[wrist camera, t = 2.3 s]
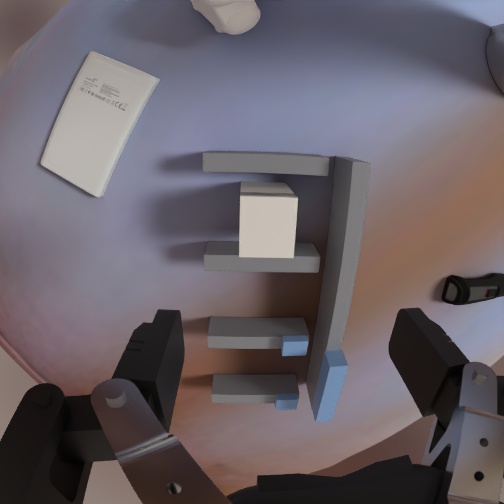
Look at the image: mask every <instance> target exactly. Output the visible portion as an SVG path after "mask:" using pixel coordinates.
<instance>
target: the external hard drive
mask: <svg viewBox="0 0 504 504" xmlns="http://www.w3.org/2000/svg"><path fill="white" fill-rule="evenodd" d="M159 81H160V79H158V78H156V77H154V76H152V75H150V74H147V73H145V72H143V71H141V70H138V69H136V68H134V67H131V66H129V65H126V64H124V63H122V62H119V61H117V60H114V59H112V58H109V57H107V56H104V55H102V54H99V53H97V52H94V51H90V53H89V55H88V56H87V58H86V60H85V62H84V64H83V66H82V67H81V69H80V71H79V73H78V75H77V77H76V79H75V81H74V83H73V85H72V87H71V89H70V91H69V93H68V95H67V97H66V99H65V102H64V104H63V106H62V108H61V111H60V113H59V115H58V117H57V120H56V122H55V125H54V127H53V130H52V132H51V135H50V137H49V140H48V143H47V145H46V148H45V151H44V154H43V157H42V159H41V163H40V164H41V165H42V166H44V167H46V168H47V169H49V170H51V171H52V172H54V173H56V174H57V175H59V176H61V177H62V178H64V179H66V180H68V181H69V182H71V183H73V184H74V185H76V186H78V187H80V188H81V189H83V190H85V191H87V192H88V193H90V194H92V195H94V196H96V197H98V198H99V197H101V196H103V195H104V192H105V190H106V187H107V185H108V182H109V180H110V178H111V175H112V173H113V171H114V168H115V166H116V164H117V162H118V160H119V157H120V155H121V153H122V151H123V149H124V147H125V145H126V142H127V140H128V138H129V136H130V134H131V132H132V130H133V128H134V126H135V124H136V123H137V121H138V119H139V117H140V115H141V113H142V111H143V109H144V107H145V106H146V104H147V102H148V100H149V98H150V97H151V95H152V93H153V91H154V89H155V88H156V86H157V84H158V83H159Z"/></svg>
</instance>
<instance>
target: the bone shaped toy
mask: <svg viewBox="0 0 504 504" xmlns="http://www.w3.org/2000/svg"><path fill="white" fill-rule="evenodd" d="M190 1H191V2H192V5H193V7H194V9H195V10H196V11H198V12H200V13H201V14H202V15H203V16H204V17H205V18H206V19H207V20H208V21H209V22H210V23H211V24H212V25H213V26H214V27H215V30H216V31H217V32H219V33H228V34H231V35H238V34H242V33H244V32H246V31H248V30H250V29H251V28H253V27H254V26H255V25H256V24H257V23H258V21H259V19H260V10H259V8H258V7H257V5H256V3H255V1H254V0H190Z"/></svg>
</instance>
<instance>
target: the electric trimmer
mask: <svg viewBox="0 0 504 504" xmlns="http://www.w3.org/2000/svg"><path fill="white" fill-rule="evenodd" d="M501 296H504V274H496V273H494V274H493V275H492V276H491V277H490V278H484V279H469V280H465V279H464V278H462V277H459V276H454V275H452V276H451V277H450V278H447V280H446V283H445V287H444V290H443V294H442V300H443V301H444V302H446V303H449V304H453V305H466V304H471V303H476V302H481V301H486V300H490V299H494V298H496V297H501Z"/></svg>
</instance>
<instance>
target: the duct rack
mask: <svg viewBox="0 0 504 504" xmlns="http://www.w3.org/2000/svg"><path fill="white" fill-rule="evenodd" d="M328 171H329V158H328V157H324V156H321V155H313V154H299V153H280V152H255V151H207V152H205V153H203V172H251V173H280V174H301V175H318V176H328ZM369 174H370V163H368V162H364V161H361V160H357V159H353V158H348V157H338V156H335V164H334V177H333V190H332V201H331V212H330V222H329V231H328V240H327V249H326V257H325V265H324V273H323V280H322V288H321V295H320V302H319V308H318V315H317V321H316V327H315V334H314V339H313V345H312V351H311V357H310V362H309V368H308V373H307V378H306V385H307V389H308V394H309V398H310V403H311V407H312V411H313V414H314V418H315V422H325V421H331V420H332V417H333V414H334V411H335V408H336V405H337V402H338V399H339V396H340V392H341V389H342V386H343V382H344V379H345V376H346V372H347V369H348V364H347V361H346V359H345V356H344V354H343V351H342V350H341V346H342V342H343V337H344V333H345V328H346V324H347V319H348V314H349V310H350V305H351V300H352V294H353V289H354V284H355V278H356V272H357V266H358V260H359V254H360V248H361V241H362V234H363V227H364V219H365V211H366V203H367V194H368V185H369ZM319 265H320V255H319V254H318V252H317V250H316V248H315V247H314V245H313V243H295V247H294V258H256V257H239V242H234V241H208V243H207V247H206V250H205V253H204V271H236V272H315V273H319ZM308 343H309V333H308V330H307V326H306V323H305V320H304V317H297V318H251V317H210V323H209V330H208V348H231V349H281V352H282V356H305V355H306V353H307V348H308ZM298 399H299V389H298V384H297V379H296V374H278V375H235V374H214V375H213V385H212V403H275V409H276V410H291V409H296V408H297V403H298Z"/></svg>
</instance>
